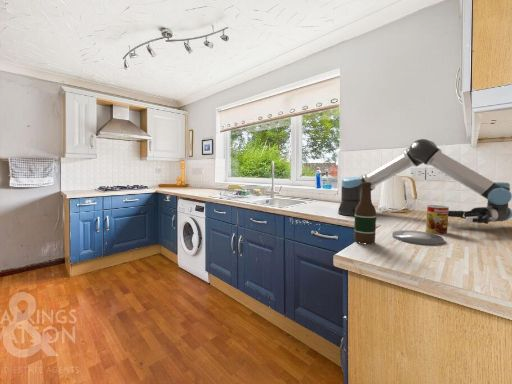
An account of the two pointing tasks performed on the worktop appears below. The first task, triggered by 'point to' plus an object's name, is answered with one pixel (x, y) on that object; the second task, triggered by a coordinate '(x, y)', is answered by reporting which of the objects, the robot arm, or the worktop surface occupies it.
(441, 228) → the canned food
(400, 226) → the worktop surface
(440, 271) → the worktop surface
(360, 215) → the beer bottle
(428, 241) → the plate
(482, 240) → the worktop surface
